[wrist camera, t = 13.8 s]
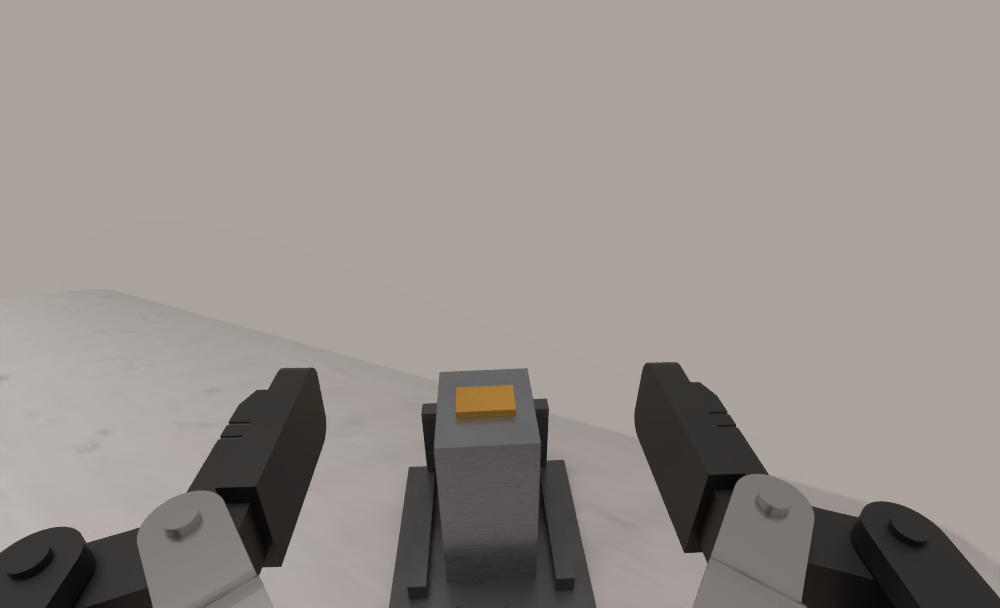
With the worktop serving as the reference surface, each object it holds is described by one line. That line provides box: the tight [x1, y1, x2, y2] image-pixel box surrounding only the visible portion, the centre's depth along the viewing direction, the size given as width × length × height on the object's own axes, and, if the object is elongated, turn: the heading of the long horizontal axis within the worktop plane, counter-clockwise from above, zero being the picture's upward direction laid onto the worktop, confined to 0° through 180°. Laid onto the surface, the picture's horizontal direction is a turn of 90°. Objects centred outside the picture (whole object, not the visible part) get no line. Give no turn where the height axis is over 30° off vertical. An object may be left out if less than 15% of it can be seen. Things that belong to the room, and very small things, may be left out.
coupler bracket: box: [389, 399, 596, 608], centre depth 30 cm, size 11×11×6 cm
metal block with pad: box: [434, 368, 541, 583], centre depth 29 cm, size 6×5×10 cm
